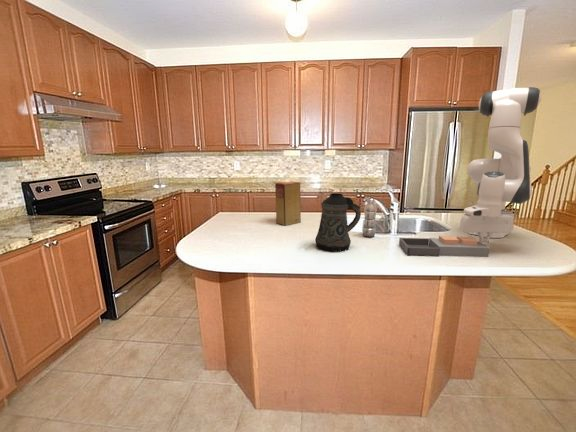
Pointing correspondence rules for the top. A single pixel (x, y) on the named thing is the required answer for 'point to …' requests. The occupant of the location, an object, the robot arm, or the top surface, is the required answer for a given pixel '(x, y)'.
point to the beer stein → (336, 223)
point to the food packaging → (288, 203)
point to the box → (418, 247)
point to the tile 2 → (467, 240)
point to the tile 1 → (448, 240)
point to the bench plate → (460, 249)
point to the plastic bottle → (370, 218)
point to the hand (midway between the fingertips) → (483, 241)
